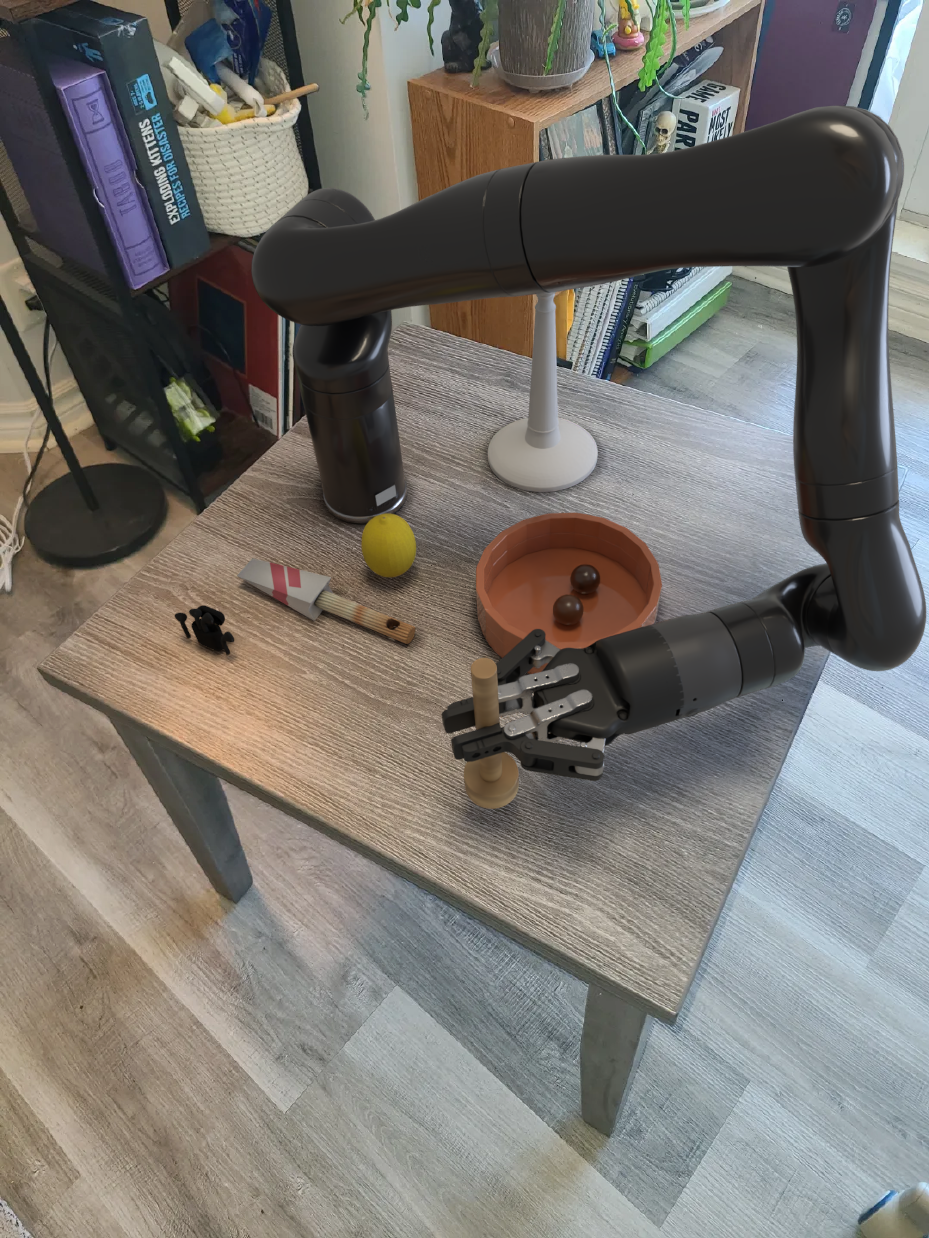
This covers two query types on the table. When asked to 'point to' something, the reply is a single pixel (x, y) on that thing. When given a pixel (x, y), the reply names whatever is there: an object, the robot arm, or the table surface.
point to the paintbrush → (318, 597)
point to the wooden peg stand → (497, 774)
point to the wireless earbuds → (207, 628)
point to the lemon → (388, 545)
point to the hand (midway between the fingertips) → (449, 736)
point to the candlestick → (543, 425)
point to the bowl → (564, 581)
